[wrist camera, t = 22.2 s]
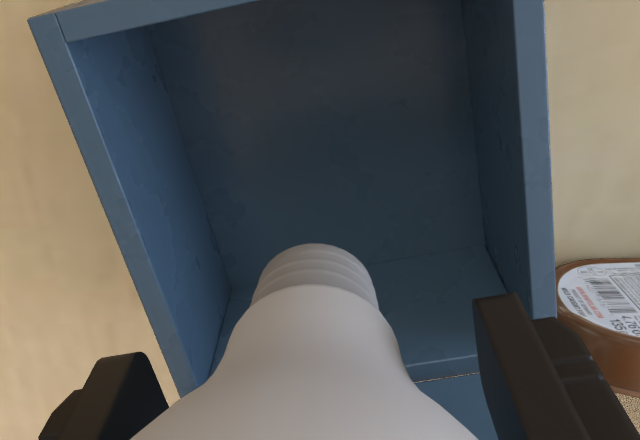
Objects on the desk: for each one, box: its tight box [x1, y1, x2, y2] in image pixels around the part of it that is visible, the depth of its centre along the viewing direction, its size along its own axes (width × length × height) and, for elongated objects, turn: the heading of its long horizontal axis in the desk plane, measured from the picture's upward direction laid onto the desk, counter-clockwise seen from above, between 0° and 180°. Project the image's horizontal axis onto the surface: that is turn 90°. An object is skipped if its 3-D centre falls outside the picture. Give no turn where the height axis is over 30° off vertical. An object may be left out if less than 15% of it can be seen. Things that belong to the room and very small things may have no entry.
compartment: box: [27, 0, 557, 398], centre depth 24 cm, size 16×15×9 cm
